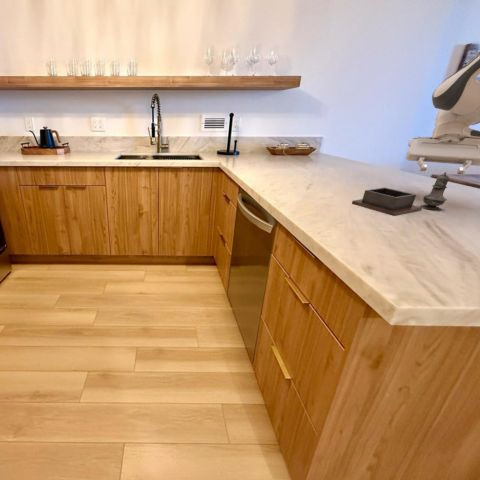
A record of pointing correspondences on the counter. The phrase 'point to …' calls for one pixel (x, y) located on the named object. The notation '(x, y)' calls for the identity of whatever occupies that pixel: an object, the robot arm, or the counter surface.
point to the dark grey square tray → (388, 201)
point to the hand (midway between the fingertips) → (441, 171)
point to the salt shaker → (436, 194)
